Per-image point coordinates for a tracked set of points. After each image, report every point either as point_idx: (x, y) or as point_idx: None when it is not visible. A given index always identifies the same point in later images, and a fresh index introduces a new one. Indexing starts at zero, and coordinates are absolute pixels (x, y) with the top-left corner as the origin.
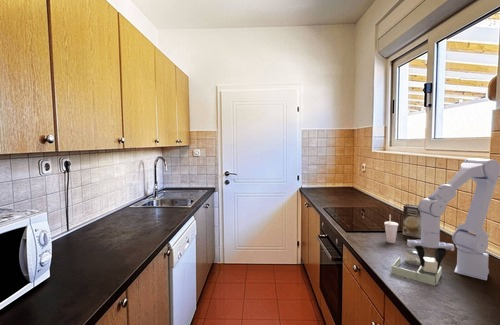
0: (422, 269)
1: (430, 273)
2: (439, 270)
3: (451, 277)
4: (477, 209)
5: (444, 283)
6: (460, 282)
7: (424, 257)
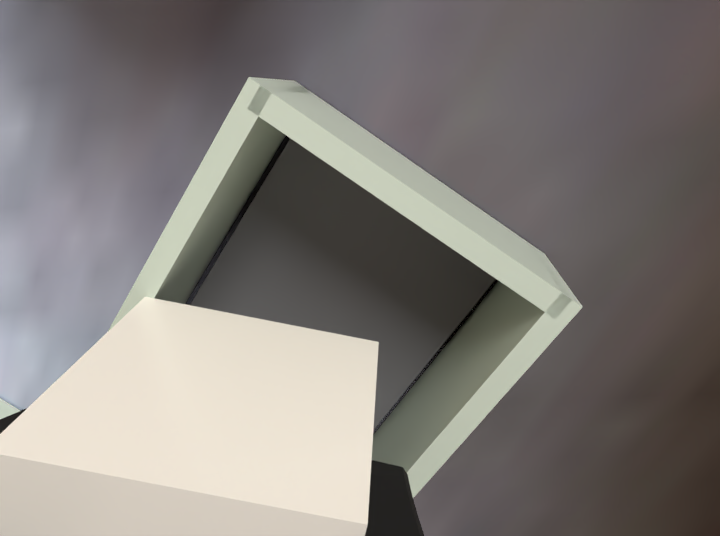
0: (227, 212)
1: (354, 263)
2: (429, 474)
3: (660, 343)
4: None
5: (422, 519)
6: (686, 489)
7: (33, 520)
